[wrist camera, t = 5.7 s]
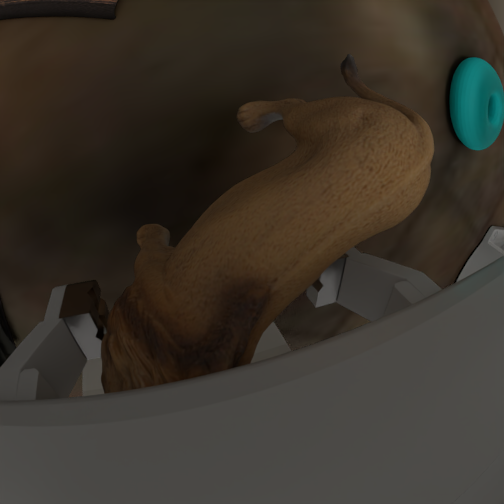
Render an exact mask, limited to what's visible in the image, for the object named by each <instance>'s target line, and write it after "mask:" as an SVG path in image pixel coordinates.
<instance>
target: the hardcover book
mask: <svg viewBox="0 0 504 504" xmlns="http://www.w3.org/2000/svg"><path fill="white" fill-rule="evenodd" d="M117 2H118V0H0V20H2V19H11V18H22V17H40V16H74V17H93V18H104V19H115V18H116V16H115V14H114V10H115V7H116V4H117Z"/></svg>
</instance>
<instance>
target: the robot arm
mask: <svg viewBox="0 0 504 504" xmlns="http://www.w3.org/2000/svg"><path fill="white" fill-rule="evenodd" d="M306 290H307V294H306V296H307V297H308V298H309V300H310V301H311V302H312V304H313V305H314V306H315V308H316V307H320V306H323V305H327V304H330V303H334V302H337V303H338V304H340V305H342V306H344V307H346V308H347V309H349V310H351V311H353V312H355V313H357V314H359V315H360V316H362V317H364V318H366V319H368V320H370V321H371V322H370V323H367V324H365V325H362V326H360V327H357V328H355V329H352V330H350V331H347V332H344V333H342V334H339V335H336V336H334V337H331V338H328V339H325V340H323V341H320V342H317V343H314V344H311V345H308V346H305V347H302V348H299V349H296V350H293V351H290V352H287V353H284V354H280V355H277V356H274V357H271V358H267V359H264V360H261V361H257V362H254V363H250V364H246V365H243V366H239V367H235V368H232V369H228V370H224V371H220V372H216V373H212V374H208V375H203V376H199V377H195V378H190V379H186V380H181V381H176V382H171V383H166V384H161V385H156V386H151V387H145V388H139V389H133V390H127V391H120V392H113V393H106V394H98V395H89V396H80V397H69V398H68V396H69V394H70V393H71V391H72V389H73V387H74V385H75V383H76V381H77V379H78V377H79V376H80V374H81V372H82V370H83V368H84V367H85V365H86V363H87V360H90V359H96V358H101V343H102V340H103V337H104V336H105V334H106V332H107V318H108V315H109V310H108V307H107V304H106V302H105V301H104V300H103V299H101V298H100V296H101V289H100V287H99V284H98V282H97V281H96V280H91V281H85V282H80V283H74V284H68V285H63V286H58V287H55V288H53V290H52V293H51V296H50V300H49V303H48V307H47V311H46V314H45V318H44V322H40V323H39V324H38V325H37V326H36V327H35V328H34V329H33V330H32V331H31V332H30V333H29V335H28V336H27V337H26V338H25V339H24V340H23V341H22V342H21V344H20V345H19V346H18V347H17V348H16V349H15V351H14V352H13V353H12V354H11V355H10V356H9V358H8V359H7V360H6V361H5V362H4V364H3V365H2V366H1V367H0V504H504V227H497V226H491V227H490V229H489V230H488V232H487V234H486V236H485V237H484V239H483V241H482V242H481V244H480V245H479V246H478V248H477V249H476V250H475V251H474V253H473V254H472V256H471V257H470V259H469V260H468V262H467V263H466V265H465V267H464V268H463V270H462V272H461V274H460V275H459V277H458V279H457V281H456V283H454V284H452V285H450V286H448V287H446V288H444V289H441V288H440V287H439V286H438V285H437V284H435V283H434V282H433V281H432V280H431V279H430V278H429V277H427V276H426V275H425V274H424V273H423V272H420V271H417V270H415V269H412V268H409V267H406V266H403V265H400V264H397V263H394V262H391V261H388V260H385V259H382V258H379V257H376V256H373V255H370V254H367V253H364V254H362V253H360V252H359V251H358V250H357V249H356V248H355V247H352V248H351V249H350V250H348V251H347V252H346V253H345V254H343V255H342V256H341V257H340V258H338V259H337V260H336V261H335V262H333V263H332V264H331V265H330V266H329V267H328V268H327V269H326V270H325V271H324V272H323V273H322V274H321V275H320V276H319V278H318V279H317V280H316V281H315V282H314V283H313V284H312V285H311V286H310V287H309V288H308V289H306Z"/></svg>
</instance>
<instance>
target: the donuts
mask: <svg viewBox="0 0 504 504" xmlns="http://www.w3.org/2000/svg"><path fill="white" fill-rule="evenodd" d="M449 104H450V116H451V121H452V124H453V128H454V130H455V133H456V135H457V137H458V138H459V140H460V141H461V142H462V143H463V144H464V145H465V146H466V147H468V148H470V149H472V150H483V149H486V148H488V147H489V146H490V145H491V144H493V142H494V141H495V140H496V138H497V137H498V135H499V133H500V130H501V128H502V124H503V120H504V92H503V87H502V84H501V81H500V79H499V77H498V75H497V73H496V71H495V70H494V69H493V68H492V66H491V65H490V64H489V63H487V62H486V61H484V60H482V59H480V58H476V57H471V58H467V59H465V60H463V61H462V62H461V63H460V64H459V66H458V67H457V69H456V70H455V73H454V75H453V78H452V82H451V87H450V98H449Z"/></svg>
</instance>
